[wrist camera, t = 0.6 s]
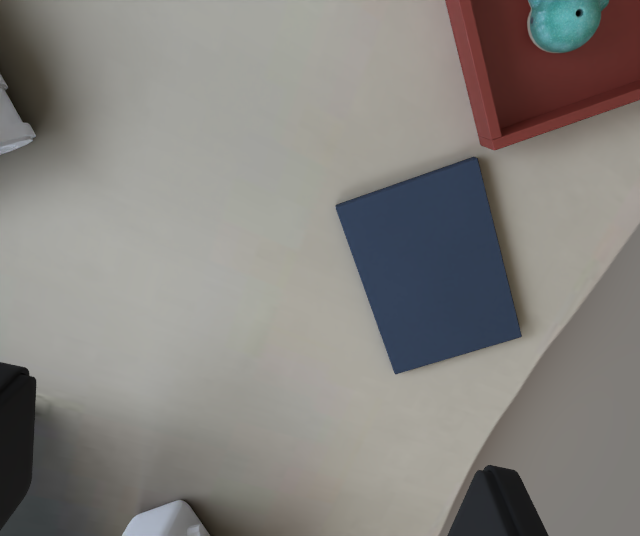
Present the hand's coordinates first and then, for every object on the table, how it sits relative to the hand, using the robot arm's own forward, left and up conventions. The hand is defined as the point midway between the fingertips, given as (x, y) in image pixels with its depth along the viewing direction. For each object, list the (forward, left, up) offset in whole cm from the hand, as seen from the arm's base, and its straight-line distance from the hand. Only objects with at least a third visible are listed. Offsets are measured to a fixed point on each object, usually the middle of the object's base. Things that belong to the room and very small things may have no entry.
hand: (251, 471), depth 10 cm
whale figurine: (-6, +22, -33) cm, 40 cm away
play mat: (+11, +7, -33) cm, 36 cm away
